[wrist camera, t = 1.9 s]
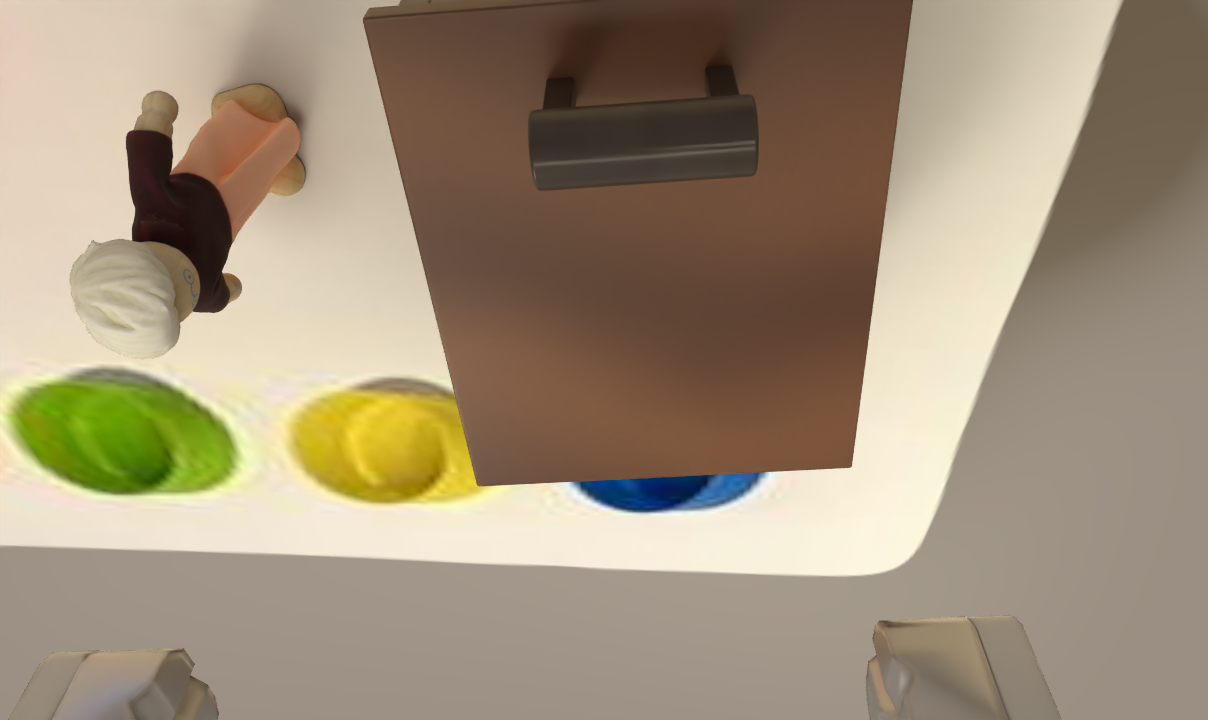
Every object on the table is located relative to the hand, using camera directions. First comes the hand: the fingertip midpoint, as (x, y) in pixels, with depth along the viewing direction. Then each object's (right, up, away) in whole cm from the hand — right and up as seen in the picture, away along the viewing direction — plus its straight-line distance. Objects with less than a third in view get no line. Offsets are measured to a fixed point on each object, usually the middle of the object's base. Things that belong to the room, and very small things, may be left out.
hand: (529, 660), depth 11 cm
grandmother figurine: (-12, +13, +24) cm, 29 cm away
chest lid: (+2, +6, +17) cm, 18 cm away
